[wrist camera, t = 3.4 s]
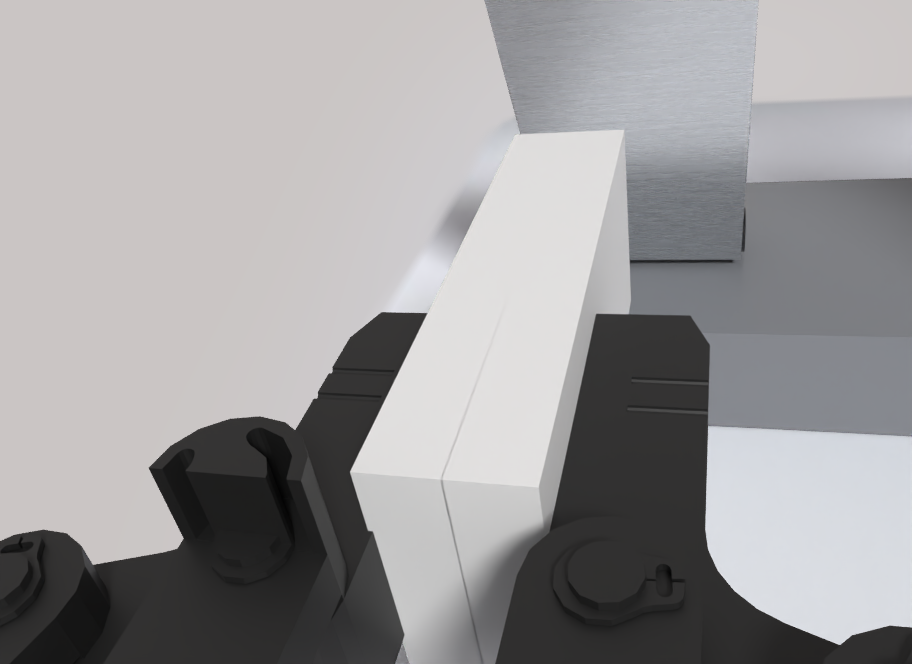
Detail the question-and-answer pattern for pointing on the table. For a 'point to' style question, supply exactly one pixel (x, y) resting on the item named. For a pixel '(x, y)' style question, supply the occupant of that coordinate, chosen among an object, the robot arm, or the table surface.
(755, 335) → the switch base
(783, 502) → the table surface
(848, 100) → the table surface
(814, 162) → the table surface
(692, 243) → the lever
